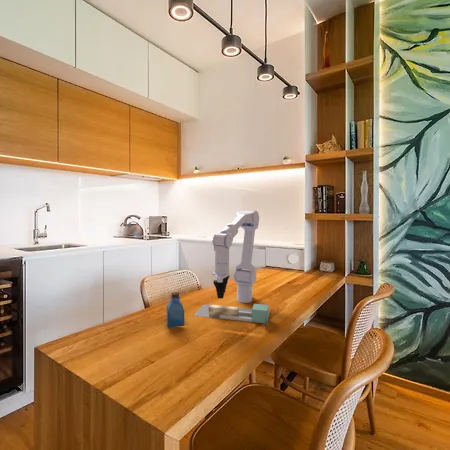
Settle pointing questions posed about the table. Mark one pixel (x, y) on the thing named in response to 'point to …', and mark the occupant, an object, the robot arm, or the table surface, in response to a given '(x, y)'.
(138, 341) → the table surface
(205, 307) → the board
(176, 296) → the perfume bottle
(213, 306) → the slat
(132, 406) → the table surface
